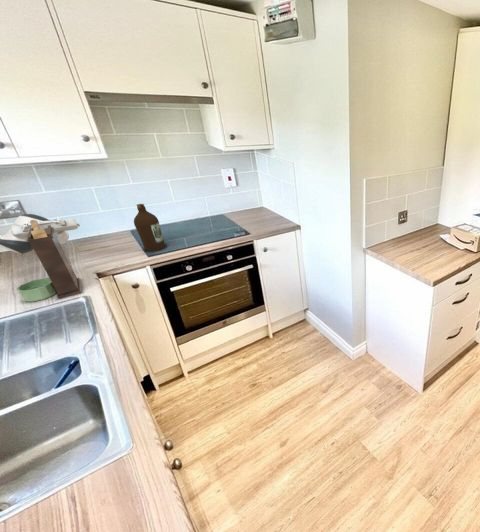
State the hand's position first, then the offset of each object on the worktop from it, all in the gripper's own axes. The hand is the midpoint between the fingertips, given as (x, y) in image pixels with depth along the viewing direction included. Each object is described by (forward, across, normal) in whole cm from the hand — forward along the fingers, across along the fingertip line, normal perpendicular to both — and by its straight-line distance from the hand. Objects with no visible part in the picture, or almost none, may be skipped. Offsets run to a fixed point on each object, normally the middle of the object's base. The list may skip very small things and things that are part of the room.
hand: (41, 223), depth 136 cm
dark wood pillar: (-2, 0, -30) cm, 30 cm away
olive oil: (-26, -36, -16) cm, 47 cm away
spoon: (+7, +1, -5) cm, 8 cm away
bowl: (-2, +8, -29) cm, 31 cm away
